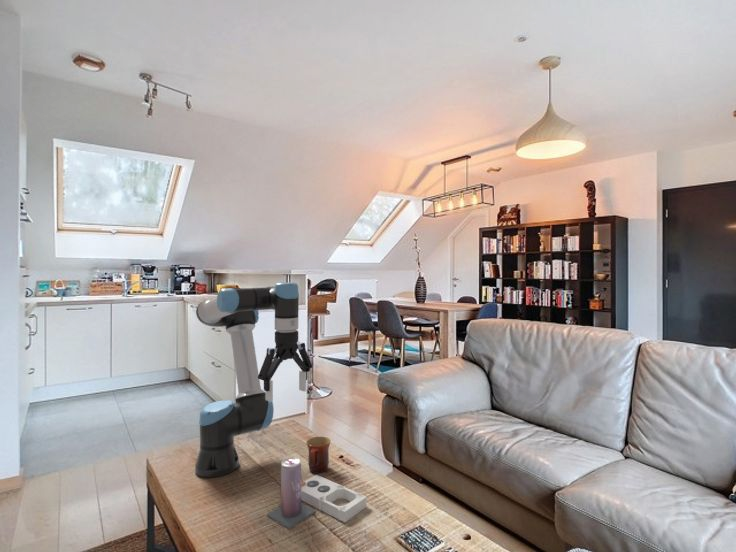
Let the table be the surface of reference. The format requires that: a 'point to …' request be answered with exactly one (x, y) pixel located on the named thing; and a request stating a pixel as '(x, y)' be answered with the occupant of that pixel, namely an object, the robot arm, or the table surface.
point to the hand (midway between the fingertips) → (286, 395)
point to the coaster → (290, 521)
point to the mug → (318, 454)
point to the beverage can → (291, 487)
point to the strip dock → (331, 497)
